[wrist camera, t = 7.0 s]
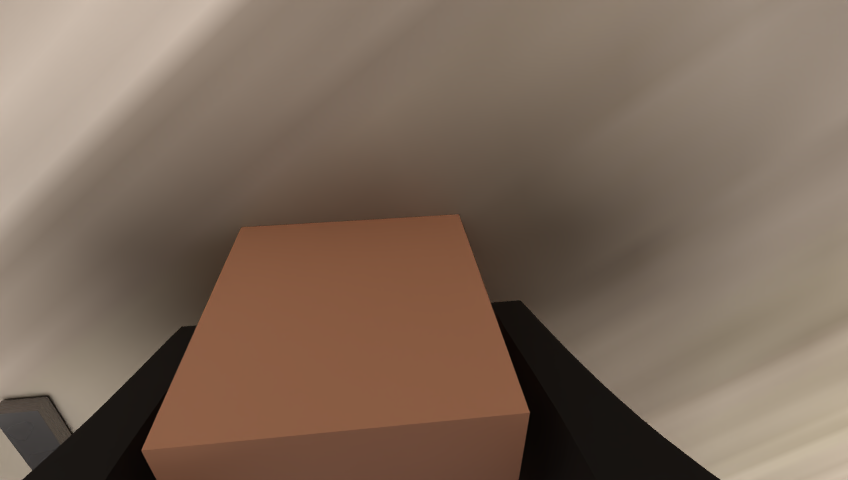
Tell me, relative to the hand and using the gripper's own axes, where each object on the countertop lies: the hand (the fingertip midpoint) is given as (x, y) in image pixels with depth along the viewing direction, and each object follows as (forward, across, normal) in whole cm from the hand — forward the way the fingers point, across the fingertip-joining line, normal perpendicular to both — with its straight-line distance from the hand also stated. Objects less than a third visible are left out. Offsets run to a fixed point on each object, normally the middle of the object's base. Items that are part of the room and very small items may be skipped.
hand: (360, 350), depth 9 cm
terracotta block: (+2, 0, 0) cm, 2 cm away
